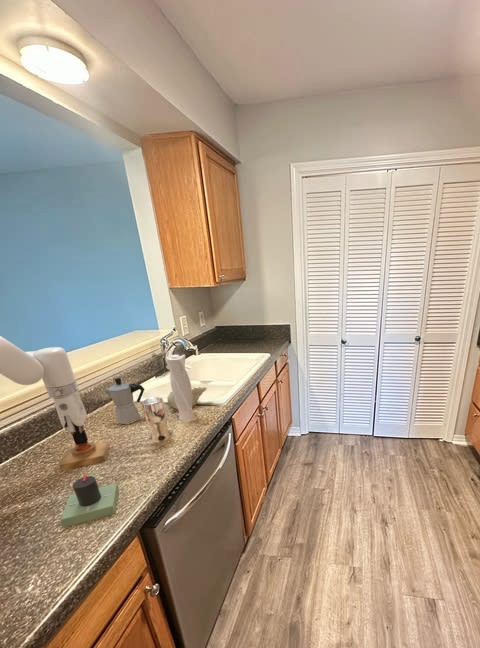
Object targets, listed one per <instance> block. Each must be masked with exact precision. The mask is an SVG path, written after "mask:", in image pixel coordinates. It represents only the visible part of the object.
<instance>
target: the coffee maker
mask: <svg viewBox="0 0 480 648" xmlns="http://www.w3.org/2000/svg"><path fill="white" fill-rule="evenodd" d="M121 378H122V377H115V378H114V382H115V384H114V385H112V386H110V387H108V388H106V389H105V388H104V389H103V390H102V392H104V393H105V394H107V396H108V397H109V398H111V400H112V402H113V404H114V406H115V417H116V423H117V422H118V423H121V424H124V423H131V422H133V421H135V420H138V419H139V417H140V418H141V415H140V413H139V411H138V409H137V407H136V405H135V403H134V393H135V392H137V391H139V390H140V391H139V395H138V397H137V399H136V402H137V404H139V403H140V402H141V399H142V397H143V394H144V392H145V390H146V389H145V388H144V387H143V385H142V384H136V383H135V382H133V383H122V379H121ZM139 420H140V419H139Z"/></svg>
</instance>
